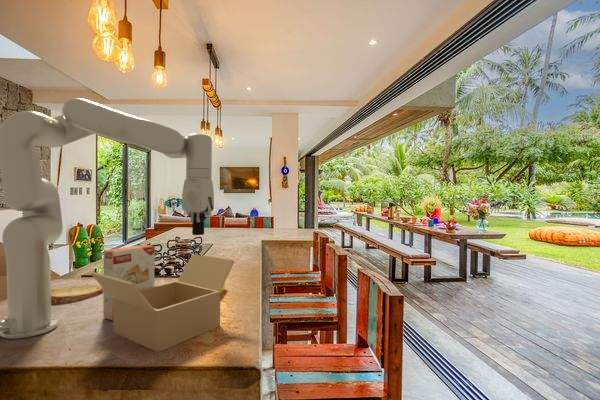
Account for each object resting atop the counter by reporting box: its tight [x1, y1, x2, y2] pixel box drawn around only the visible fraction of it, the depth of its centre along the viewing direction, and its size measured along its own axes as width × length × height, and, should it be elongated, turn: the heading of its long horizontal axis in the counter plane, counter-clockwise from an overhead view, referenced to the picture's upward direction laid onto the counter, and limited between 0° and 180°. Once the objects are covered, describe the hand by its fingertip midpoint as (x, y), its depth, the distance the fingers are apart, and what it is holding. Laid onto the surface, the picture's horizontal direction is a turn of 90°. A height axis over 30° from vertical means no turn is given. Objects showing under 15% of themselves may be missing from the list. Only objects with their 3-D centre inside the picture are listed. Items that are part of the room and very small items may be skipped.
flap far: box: [177, 253, 235, 291], centre depth 108 cm, size 10×19×1 cm
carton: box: [113, 280, 221, 353], centre depth 97 cm, size 20×20×10 cm
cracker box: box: [102, 244, 156, 322], centre depth 110 cm, size 14×6×21 cm, turn 148°
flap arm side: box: [89, 271, 156, 312], centre depth 86 cm, size 10×19×1 cm
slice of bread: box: [51, 284, 103, 306], centre depth 126 cm, size 18×18×4 cm
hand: (198, 234), depth 107 cm, fingers closed
